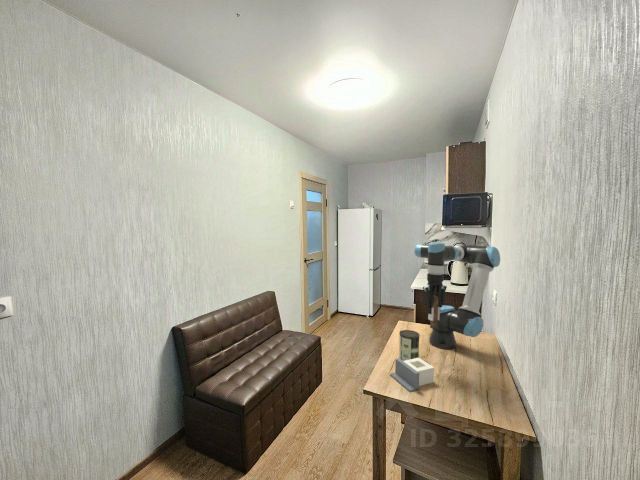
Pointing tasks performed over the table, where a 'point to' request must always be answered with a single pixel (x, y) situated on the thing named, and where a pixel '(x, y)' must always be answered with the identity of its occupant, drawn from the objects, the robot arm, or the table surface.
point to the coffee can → (408, 345)
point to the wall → (406, 376)
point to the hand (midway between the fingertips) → (433, 319)
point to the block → (422, 370)
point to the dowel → (435, 305)
